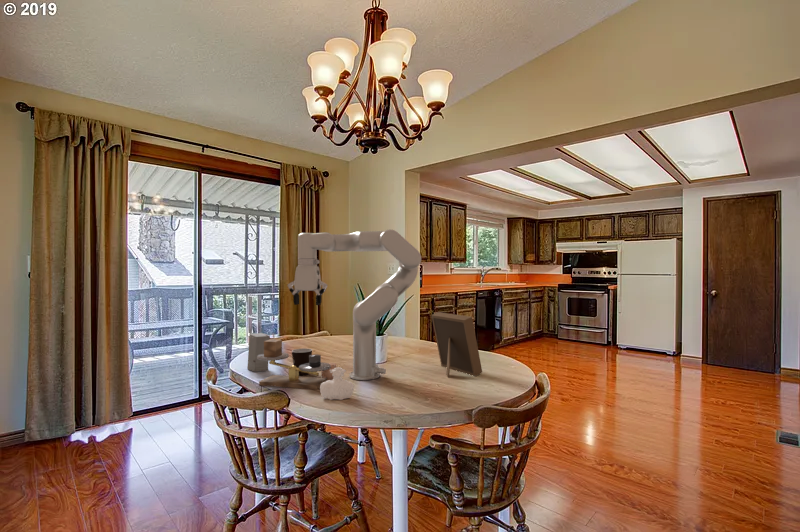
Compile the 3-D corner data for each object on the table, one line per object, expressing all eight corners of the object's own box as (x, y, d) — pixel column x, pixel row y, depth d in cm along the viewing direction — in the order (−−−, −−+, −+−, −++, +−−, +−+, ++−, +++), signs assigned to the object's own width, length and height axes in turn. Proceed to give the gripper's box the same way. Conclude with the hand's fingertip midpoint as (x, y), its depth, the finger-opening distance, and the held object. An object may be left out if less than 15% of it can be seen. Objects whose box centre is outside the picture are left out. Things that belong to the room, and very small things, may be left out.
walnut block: (281, 354, 162) (281, 339, 162) (275, 357, 157) (275, 341, 157) (270, 354, 163) (270, 339, 163) (263, 356, 158) (263, 341, 158)
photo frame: (448, 364, 188) (447, 311, 188) (482, 374, 170) (481, 315, 170) (423, 369, 180) (422, 313, 180) (456, 380, 162) (455, 318, 162)
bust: (354, 403, 141) (356, 373, 148) (352, 395, 135) (354, 364, 142) (320, 403, 141) (324, 373, 148) (316, 395, 135) (320, 364, 142)
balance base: (327, 381, 160) (327, 378, 160) (316, 389, 151) (316, 385, 151) (272, 378, 166) (272, 374, 166) (259, 385, 156) (259, 381, 156)
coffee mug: (309, 376, 169) (309, 352, 169) (289, 376, 169) (289, 352, 169) (315, 369, 180) (315, 347, 180) (296, 369, 180) (296, 347, 181)
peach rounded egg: (338, 377, 167) (338, 363, 167) (332, 381, 161) (332, 366, 161) (325, 376, 168) (325, 362, 168) (319, 380, 162) (319, 365, 162)
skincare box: (247, 369, 181) (247, 333, 181) (262, 366, 186) (262, 332, 186) (254, 372, 175) (254, 336, 175) (270, 369, 180) (270, 334, 180)
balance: (335, 377, 161) (335, 353, 161) (323, 386, 149) (323, 359, 149) (267, 373, 167) (267, 349, 167) (250, 381, 156) (250, 356, 156)
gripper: (330, 263, 167) (330, 304, 167) (292, 263, 171) (292, 303, 171) (323, 262, 160) (323, 305, 160) (283, 263, 164) (283, 305, 164)
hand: (307, 304), depth 166 cm, fingers open, 9 cm apart
